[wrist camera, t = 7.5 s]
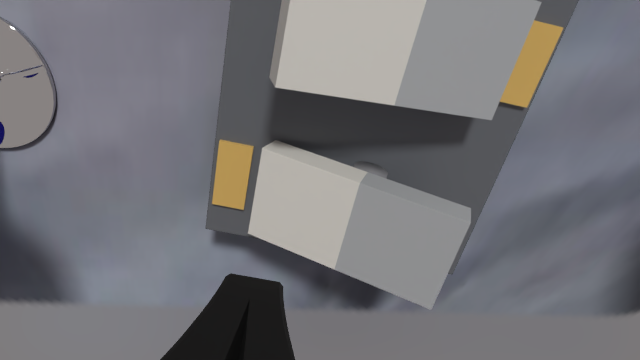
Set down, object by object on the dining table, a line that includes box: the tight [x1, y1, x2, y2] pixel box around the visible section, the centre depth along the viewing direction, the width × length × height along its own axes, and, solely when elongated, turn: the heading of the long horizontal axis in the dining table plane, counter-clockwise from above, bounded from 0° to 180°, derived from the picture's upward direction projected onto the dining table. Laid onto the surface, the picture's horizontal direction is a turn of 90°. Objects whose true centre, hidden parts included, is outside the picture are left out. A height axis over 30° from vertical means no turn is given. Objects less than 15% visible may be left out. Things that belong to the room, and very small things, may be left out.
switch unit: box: [206, 0, 579, 274], centre depth 16 cm, size 12×20×3 cm, turn 168°
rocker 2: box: [248, 140, 471, 310], centre depth 16 cm, size 8×4×2 cm, turn 77°
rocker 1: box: [269, 0, 542, 120], centre depth 13 cm, size 8×4×3 cm, turn 78°
